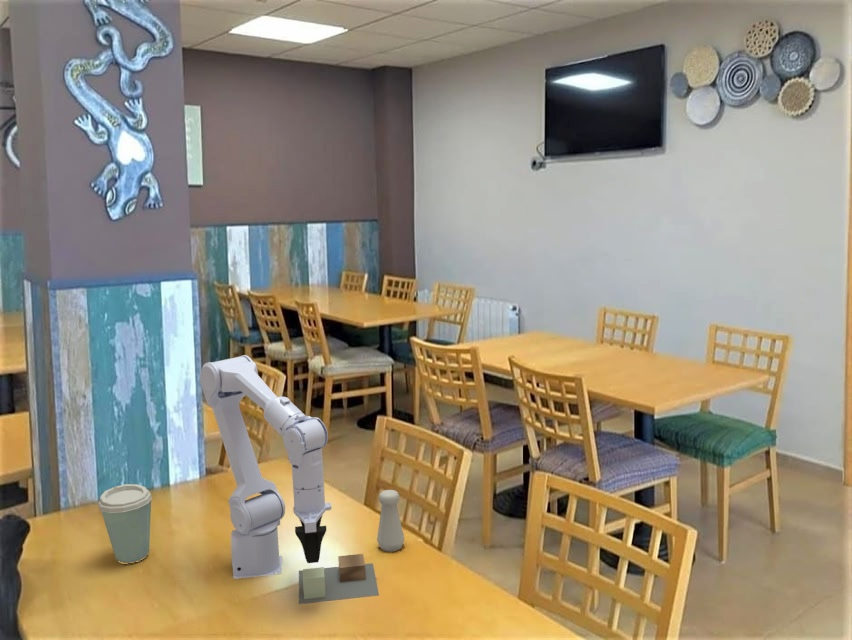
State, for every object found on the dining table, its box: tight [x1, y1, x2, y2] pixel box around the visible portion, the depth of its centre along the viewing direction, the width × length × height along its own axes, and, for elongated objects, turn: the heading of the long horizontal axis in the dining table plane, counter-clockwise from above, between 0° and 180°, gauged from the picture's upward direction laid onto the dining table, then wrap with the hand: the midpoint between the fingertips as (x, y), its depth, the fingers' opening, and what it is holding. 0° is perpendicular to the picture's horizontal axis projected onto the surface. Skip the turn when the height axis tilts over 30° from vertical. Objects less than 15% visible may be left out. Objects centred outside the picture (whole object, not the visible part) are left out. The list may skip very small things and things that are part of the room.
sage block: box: [302, 566, 326, 599], centre depth 147 cm, size 4×4×4 cm
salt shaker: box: [376, 489, 405, 553], centre depth 165 cm, size 6×6×13 cm
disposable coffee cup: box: [97, 483, 153, 563], centre depth 164 cm, size 11×11×15 cm
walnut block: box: [337, 553, 366, 582], centre depth 154 cm, size 5×5×3 cm
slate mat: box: [298, 562, 380, 605], centre depth 151 cm, size 15×13×1 cm
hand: (312, 552), depth 146 cm, fingers open, 7 cm apart
